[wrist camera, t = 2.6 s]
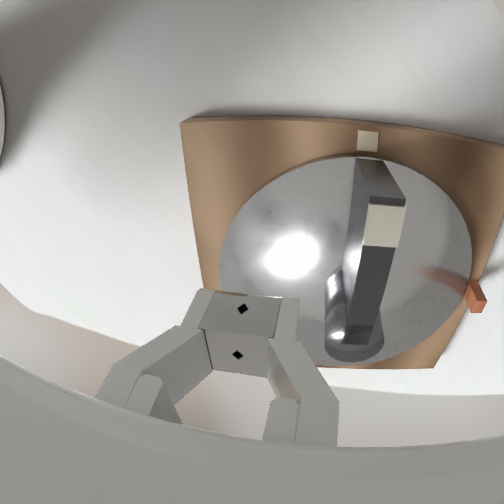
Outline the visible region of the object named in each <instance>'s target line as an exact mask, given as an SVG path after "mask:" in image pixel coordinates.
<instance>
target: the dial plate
mask: <svg viewBox="0 0 504 504" xmlns="http://www.w3.org/2000/svg"><path fill="white" fill-rule="evenodd" d="M180 128H181V137H182V145H183V154H184V162H185V169H186V177H187V184H188V192H189V199H190V206H191V212H192V219H193V226H194V232H195V239H196V245H197V251H198V257H199V263H200V269H201V275H202V281H203V286H204V289H208V290H215V291H216V290H218V291H221V287H220V282H219V269H218V265H219V256H220V251H221V247H222V244H223V240H224V237H225V235H226V233H227V231H228V229H229V226H230V224H231V222H232V220H233V218H234V217H235V215H236V214H237V212H238V211H239V209H240V208H241V206H242V205H243V204H244V203H245V202H246V201H247V199H248V198H249V197H250V196H251V195H252V194H253V193H254V192H255V191H256V190H257V189H259V188H260V187H261V186H263V185H264V184H265V183H266V182H268V181H269V180H270V179H272V178H274V177H275V176H277V175H279V174H280V173H282V172H284V171H286V170H288V169H290V168H292V167H295V166H297V165H300V164H302V163H305V162H308V161H312V160H315V159H319V158H323V157H329V156H337V155H346V154H350V155H371V156H377V157H383V158H388V159H391V160H394V161H397V162H400V163H403V164H406V165H408V166H410V167H412V168H414V169H416V170H418V171H420V172H422V173H423V174H424V175H426V176H427V177H429V178H430V179H431V180H433V181H434V182H435V183H436V184H437V185H438V186H439V187H440V188H441V189H442V190H443V191H444V192H445V193H446V194H447V195H448V196H449V197H450V198H451V200H452V201H453V203H454V204H455V205H456V207H457V208H458V210H459V211H460V213H461V215H462V217H463V219H464V221H465V223H466V226H467V229H468V232H469V236H470V240H471V248H472V265H471V272H470V277H469V281H468V284H467V287H466V289H465V292H464V294H463V296H462V298H461V300H460V302H459V304H458V306H457V307H456V309H455V310H454V312H453V313H452V314H451V316H450V317H449V318H448V319H447V320H446V322H445V323H444V324H443V325H442V326H441V327H440V328H439V329H438V330H437V331H435V332H434V333H433V334H432V335H431V336H429V337H428V338H427V339H425V340H424V341H423V342H421V343H420V344H418V345H416V346H414V347H413V348H411V349H409V350H407V351H405V352H403V353H401V354H398V355H396V356H393V357H390V358H388V359H385V360H381V361H377V362H373V363H368V364H362V365H353V366H326V365H317V364H315V366H316V367H325V368H349V369H425V368H434V366H435V365H436V363H437V361H438V360H439V358H440V356H441V355H442V353H443V351H444V349H445V348H446V346H447V344H448V342H449V340H450V339H451V337H452V335H453V333H454V331H455V329H456V327H457V326H458V324H459V322H460V320H461V318H462V316H463V314H464V312H465V310H466V308H467V306H468V307H469V309H470V311H471V313H481V312H482V311H483V309H484V307H485V305H486V303H487V300H486V298H485V295H484V293H483V291H482V289H481V287H480V285H479V284H478V282H479V279H480V277H481V275H482V272H483V270H484V267H485V265H486V262H487V260H488V257H489V255H490V252H491V249H492V247H493V244H494V241H495V238H496V236H497V233H498V230H499V227H500V224H501V221H502V218H503V214H504V146H503V145H500V144H496V143H492V142H488V141H484V140H479V139H475V138H470V137H466V136H461V135H456V134H451V133H446V132H441V131H435V130H429V129H423V128H417V127H411V126H404V125H396V124H389V123H381V122H372V121H362V120H351V119H338V118H323V117H303V116H221V117H200V118H188V119H186V120H185V121H183V122H181V123H180Z"/></svg>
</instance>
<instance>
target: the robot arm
mask: <svg viewBox="0 0 504 504" xmlns="http://www.w3.org/2000/svg"><path fill="white" fill-rule="evenodd" d="M4 130H5V117H4V104H3V97H2V91H1V87H0V155H1V152H2V147H3V141H4ZM299 304H300V299H299V298H289V297H273V296H262V295H251V294H242V293H234V292H226V291H218V290H216V291H215V290H208V289H199V290H198V291H197V293H196V295H195V297H194V299H193V301H192V303H191V305H190V307H189V309H188V311H187V313H186V315H185V317H184V319H183V321H182V323H181V325H180V326H176V325H175V326H174V327H172V328H171V329H169V330H167V331H166V332H164V333H163V334H161V335H159V336H158V337H156V338H155V339H153V340H151V341H150V342H148V343H147V344H145V345H143V346H142V347H140V348H139V349H137V350H135V351H134V352H132V353H130V354H129V355H127V356H125V357H124V358H122V359H121V360H119V361H118V362H116V363H114V364H113V366H112V367H111V369H110V371H109V373H108V375H107V376H106V378H105V380H104V382H103V383H102V385H101V387H100V389H99V391H98V392H97V394H96V396H95V398H94V397H91V396H88V395H86V394H83V393H80V392H78V391H75V390H73V389H71V388H68V387H66V386H64V385H61V384H59V383H56V382H54V381H52V380H50V379H48V378H45V377H43V376H41V375H39V374H37V373H35V372H33V371H31V370H29V369H27V368H24V367H23V366H21V365H18V364H16V363H15V362H13V361H11V360H9V359H7V358H5V357H3V356H1V355H0V504H504V434H500V435H495V436H490V437H485V438H479V439H472V440H466V441H458V442H451V443H443V444H432V445H421V446H405V447H372V448H371V447H367V448H366V447H337V434H338V418H339V401H338V399H337V398H336V396H335V395H334V393H333V392H332V390H331V389H330V387H329V386H328V384H327V382H326V381H325V379H324V378H323V376H322V375H321V373H320V372H319V370H318V369H317V367H316V366H315V364H314V363H313V361H312V360H311V358H310V356H309V355H308V353H307V352H306V350H305V349H304V347H303V346H302V344H301V343H300V341H296V338H297V327H298V316H299ZM212 370H218V371H225V372H232V373H240V374H247V375H253V376H260V377H266V378H268V380H269V383H270V384H271V387H272V389H273V392H274V393H275V396H276V399H274V400H273V401H271V403H270V408H269V412H268V417H267V421H266V426H265V431H264V435H263V439H262V440H258V439H252V438H246V437H239V436H234V435H228V434H223V433H217V432H212V431H208V430H203V429H198V428H194V427H190V426H185V425H182V424H183V423H182V421H181V419H180V417H179V415H178V413H177V411H176V409H175V407H174V405H175V404H176V403H177V402H178V401H179V400H181V399H182V398H183V397H184V396H185V395H186V394H188V393H189V392H190V391H191V390H192V389H193V388H194V387H195V386H197V385H198V384H199V383H200V382H201V381H202V380H203V379H204V378H205V377H207V376H208V375H209V374H210V373H211V372H212Z"/></svg>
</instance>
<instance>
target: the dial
mask: <svg viewBox="0 0 504 504" xmlns="http://www.w3.org/2000/svg"><path fill="white" fill-rule="evenodd" d="M471 265H472V248H471V240H470V236H469V232H468V229H467V226H466V223H465V221H464V219H463V217H462V215H461V213H460V211H459V210H458V208H457V207H456V205H455V204H454V203H453V201H452V200H451V198H450V197H449V196H448V195H447V194H446V193H445V192H444V191H443V190H442V189H441V188H440V187H439V186H438V185H437V184H436V183H435V182H434V181H433V180H431V179H430V178H429V177H427V176H426V175H424V174H423V173H422V172H420V171H418V170H416V169H414V168H412V167H410V166H408V165H406V164H403V163H400V162H397V161H394V160H391V159H388V158H383V157H377V156H371V155H350V154H346V155H337V156H329V157H323V158H319V159H315V160H312V161H308V162H305V163H302V164H300V165H297V166H295V167H292V168H290V169H288V170H286V171H284V172H282V173H280V174H279V175H277V176H275V177H274V178H272V179H270V180H269V181H268V182H266V183H265V184H264V185H263V186H261V187H260V188H259V189H257V190H256V191H255V192H254V193H253V194H252V195H251V196H250V197H249V198H248V199H247V201H246V202H245V203H244V204H243V205H242V206H241V208H240V209H239V211H238V212H237V214H236V215H235V217H234V218H233V220H232V222H231V224H230V226H229V229H228V231H227V233H226V235H225V237H224V240H223V244H222V247H221V251H220V256H219V265H218V269H219V282H220V287H221V291H226V292H234V293H242V294H251V295H262V296H273V297H289V298H299V299H300V304H299V316H298V327H297V338H296V341H300V343H301V344H302V346H303V347H304V349H305V350H306V352H307V353H308V355H309V356H310V358H311V360H312V361H313V363H314V364H317V365H326V366H353V365H362V364H368V363H373V362H377V361H381V360H385V359H388V358H390V357H393V356H396V355H398V354H401V353H403V352H405V351H407V350H409V349H411V348H413V347H414V346H416V345H418V344H420V343H421V342H423V341H424V340H425V339H427V338H428V337H429V336H431V335H432V334H433V333H434V332H435V331H437V330H438V329H439V328H440V327H441V326H442V325H443V324H444V323H445V322H446V320H447V319H448V318H449V317H450V316H451V314H452V313H453V312H454V310H455V309H456V307H457V306H458V304H459V302H460V300H461V298H462V296H463V294H464V292H465V289H466V287H467V284H468V281H469V277H470V272H471Z"/></svg>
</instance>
